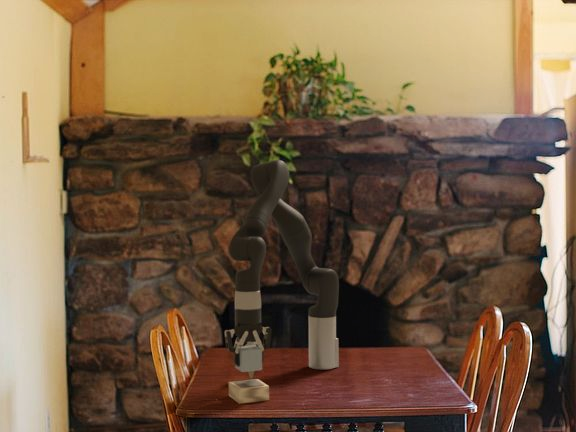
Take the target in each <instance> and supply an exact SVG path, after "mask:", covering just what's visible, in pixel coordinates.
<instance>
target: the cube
mask: <svg viewBox="0 0 576 432" xmlns="http://www.w3.org/2000/svg"><path fill="white" fill-rule="evenodd" d="M239 354H240V366H239V367H237V366H236V365H235V364H234V368H235V369H237V370H238V371H239V372H241V373H247V372H248V371H254V372H256V371H262V370H263V362H262V349H261V348H258V347H256V346H255V345H252V346H245V345H243V346H242V347H241V349H240V351H239Z"/></svg>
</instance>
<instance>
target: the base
mask: <svg viewBox="0 0 576 432" xmlns="http://www.w3.org/2000/svg"><path fill="white" fill-rule="evenodd" d="M228 396H229V397H230V398H231V399H233V400H234V401H235V402H236V403H237V404H239V405H240V404H247V403H256V402H263V401H270V386H269V385H268V384H266V383H265V382H263V381H262V380H261V379H259V378H254V379H252V380H250V379H245V380H236V381H235V380H234V381H228Z"/></svg>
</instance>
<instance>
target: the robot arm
mask: <svg viewBox="0 0 576 432" xmlns="http://www.w3.org/2000/svg"><path fill="white" fill-rule="evenodd" d="M250 169H251V170H250V178H251V179H250V180H251V183H252V185H253V187H254V189H255V191H256V193H257V194H258V197H257V199H256V200H255V201H254V202H253V203H252V204H251V205H250V207H249V208H248V209H247V212H246V215H245V217H244V221H243V224H242V225H241V226H240V227H239V228H238V229H237V231H236V232H235V233H234V235H233V237H232V238H231V239H230V242H229V244H228V255H229V257H230V258H231V259H232V260H233V261H236V262H251V264H250V266H249V267H248V268H245V269H244V268H243V269H239V270H237V271H236V272H235V276H234V277H235V292H234V293H235V294H234V326H233V328H232V329H229V330H228V329H224V331H223V334H224V341H225V348H226V350H227V351H228V352H230V353H233V355H232V358H233V359H232V360H233V361H232V362H233V364H234V366H235V365H236V366H237V367H239V366H240V354H239V351H240V349H241V347H242V346H244V344H247V342H254V343H255V345H256V347H258V348H261V349H262V363H263V362H264V351H265V350H267V349H270V347H271V341H272V331H273V329H272V328H271V327H269V326H265V327H264V326H262V295H261V275H262V274H261V273H262V269H263V264H264V259H265V256H266V253H267V245H266V242H265V240H264V239H263V238H264V237H265V235H266V232H267V231H268V230H267V229H268V226H269V222H270V220H271V218H272V220H273V221H274V224H275V226H276V228H277V230H278V232H279V234H280V236H281V238H282V240H283V242H284V244H285V246H286V247H287V249H288V252H289V254H290V256H291V258H292V260H293V262H294V264H295V267H296V269H297V273H298V275H299V278H300V281H301V283H302V286H303V288H304V290H305V291H306V292H307V293H308V294H310V295H313V296H318V301H317V303H316V304H314V305H311V306H310V307H308V367H309V368H310V369H314V370H332V369H334V368H339V367H340V366H339V354H340V353H339V338H337V309H338V306H339V292H340V291H339V290H340V289H339V288H340V283H339V282H340V281H339V276H338V274H337V272H336V271H335V270H334V269H331V268H325V267H318V265H316V263H315V261H314V259H313V257H312V253H311V249H312V240H313V239H312V237H313V236H312V232H311V229H310V227H309V225H308V223H307V221H306V219H305V217H304V216H303V215H302V213H300V211H298V210H297V209H295V208H294V207H292V206H290V205H289V204H288V203H286V202H285V201H284V200H283V199H281V198H282V196H283V194H284V193H285V191H286V189H287V187H288V186H289V182H290V175H291V174H290V169H289V168H288V165H287V164H286V162H285V161H283V160H281V159H274V160H270V161H266V162H263V163H260V164H256V165H253V167H252V168H250ZM262 333H263V342H262V340H261V339H260V335H261V334H262ZM234 334H235V336H236V339H235V342H234V346H233V340H232V339H233V337H234Z"/></svg>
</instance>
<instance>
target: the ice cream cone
mask: <svg viewBox="0 0 576 432" xmlns="http://www.w3.org/2000/svg"><path fill="white" fill-rule="evenodd" d="M252 345H255V343H254V342H246V343H245V345H244V346H252ZM255 346H256V345H255ZM248 375H249V378H250V379H249V380H253V377H254V375H255V371H248Z"/></svg>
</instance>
